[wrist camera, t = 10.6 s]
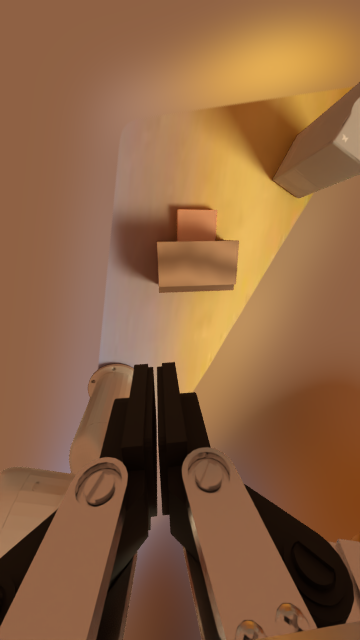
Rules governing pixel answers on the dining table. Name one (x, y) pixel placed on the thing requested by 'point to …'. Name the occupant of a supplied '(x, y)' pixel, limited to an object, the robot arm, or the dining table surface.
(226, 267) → the tan open box
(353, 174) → the skincare box
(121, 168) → the dining table surface
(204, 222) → the terracotta tile
